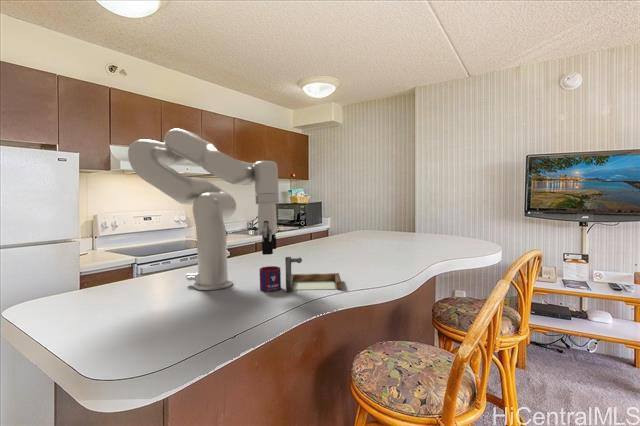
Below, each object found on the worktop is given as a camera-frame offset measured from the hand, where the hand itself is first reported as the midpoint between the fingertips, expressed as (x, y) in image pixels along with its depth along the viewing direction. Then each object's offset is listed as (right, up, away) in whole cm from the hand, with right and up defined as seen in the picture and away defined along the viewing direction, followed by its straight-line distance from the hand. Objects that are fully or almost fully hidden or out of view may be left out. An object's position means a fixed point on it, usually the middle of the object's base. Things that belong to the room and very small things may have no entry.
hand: (269, 251), depth 106 cm
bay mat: (+15, -12, +2) cm, 19 cm away
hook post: (+8, -12, -4) cm, 15 cm away
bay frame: (+15, -12, +3) cm, 19 cm away
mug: (0, -12, +1) cm, 12 cm away
